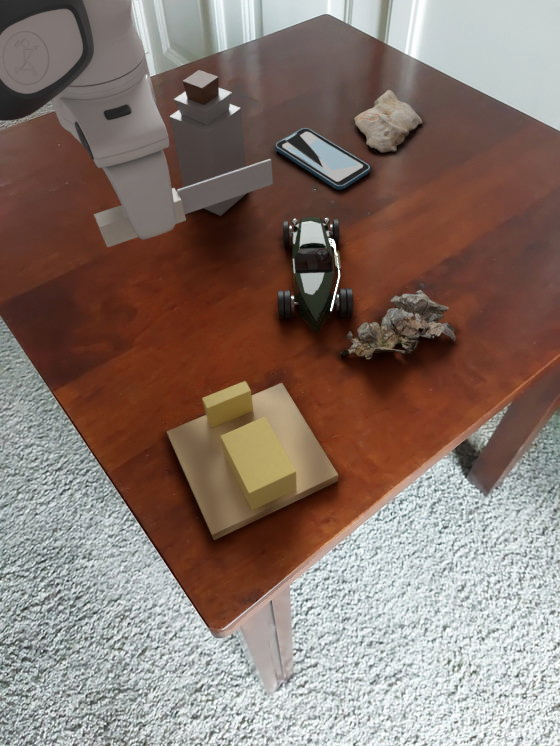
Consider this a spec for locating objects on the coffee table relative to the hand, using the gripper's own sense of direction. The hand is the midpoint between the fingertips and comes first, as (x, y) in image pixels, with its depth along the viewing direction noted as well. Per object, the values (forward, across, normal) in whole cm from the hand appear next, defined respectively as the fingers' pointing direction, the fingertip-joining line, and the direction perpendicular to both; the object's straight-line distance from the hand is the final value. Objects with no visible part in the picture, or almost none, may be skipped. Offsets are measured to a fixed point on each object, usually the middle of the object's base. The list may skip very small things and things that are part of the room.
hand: (139, 216), depth 64 cm
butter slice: (+14, +19, +1) cm, 24 cm away
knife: (+2, 0, +6) cm, 6 cm away
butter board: (+16, +24, +1) cm, 29 cm away
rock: (+16, +16, +24) cm, 33 cm away
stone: (+16, -23, +47) cm, 54 cm away
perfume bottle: (+16, -19, +15) cm, 29 cm away
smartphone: (+16, -19, +33) cm, 41 cm away
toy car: (+16, +4, +19) cm, 25 cm away
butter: (+14, +26, +1) cm, 30 cm away
